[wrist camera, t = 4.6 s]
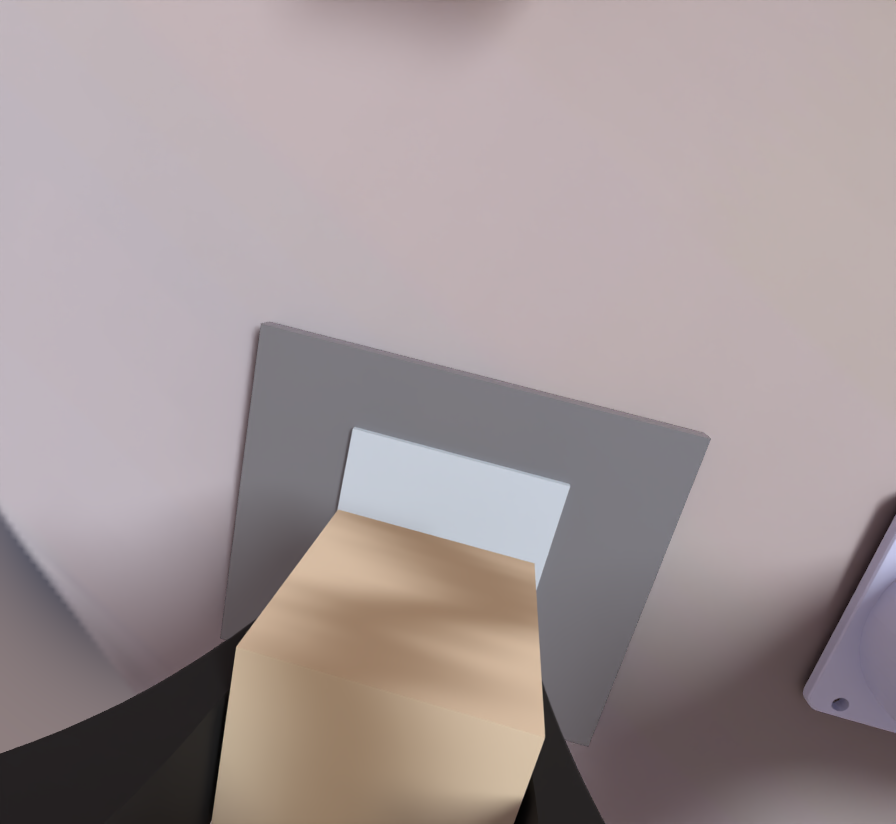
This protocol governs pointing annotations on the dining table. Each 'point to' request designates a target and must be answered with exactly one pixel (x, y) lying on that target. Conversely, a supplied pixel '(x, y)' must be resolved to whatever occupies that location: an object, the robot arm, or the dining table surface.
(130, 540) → the dining table surface
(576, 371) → the dining table surface
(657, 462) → the baseplate
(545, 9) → the dining table surface
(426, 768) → the beech block
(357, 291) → the dining table surface
